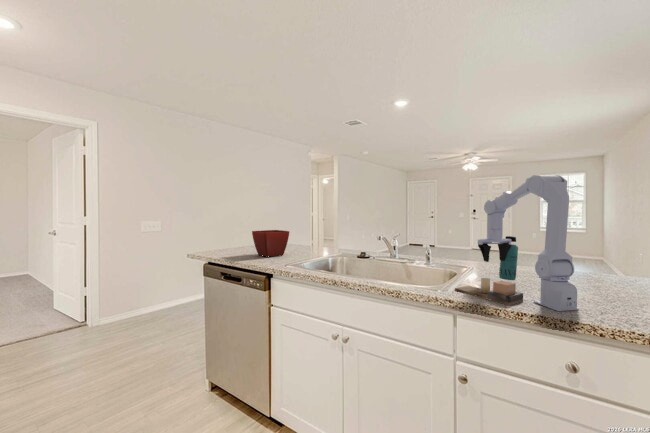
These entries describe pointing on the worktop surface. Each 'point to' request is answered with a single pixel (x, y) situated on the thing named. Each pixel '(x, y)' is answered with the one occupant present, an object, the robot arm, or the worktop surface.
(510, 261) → the beverage bottle
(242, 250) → the worktop surface
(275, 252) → the plant pot
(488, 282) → the clay block
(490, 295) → the lane shelf
